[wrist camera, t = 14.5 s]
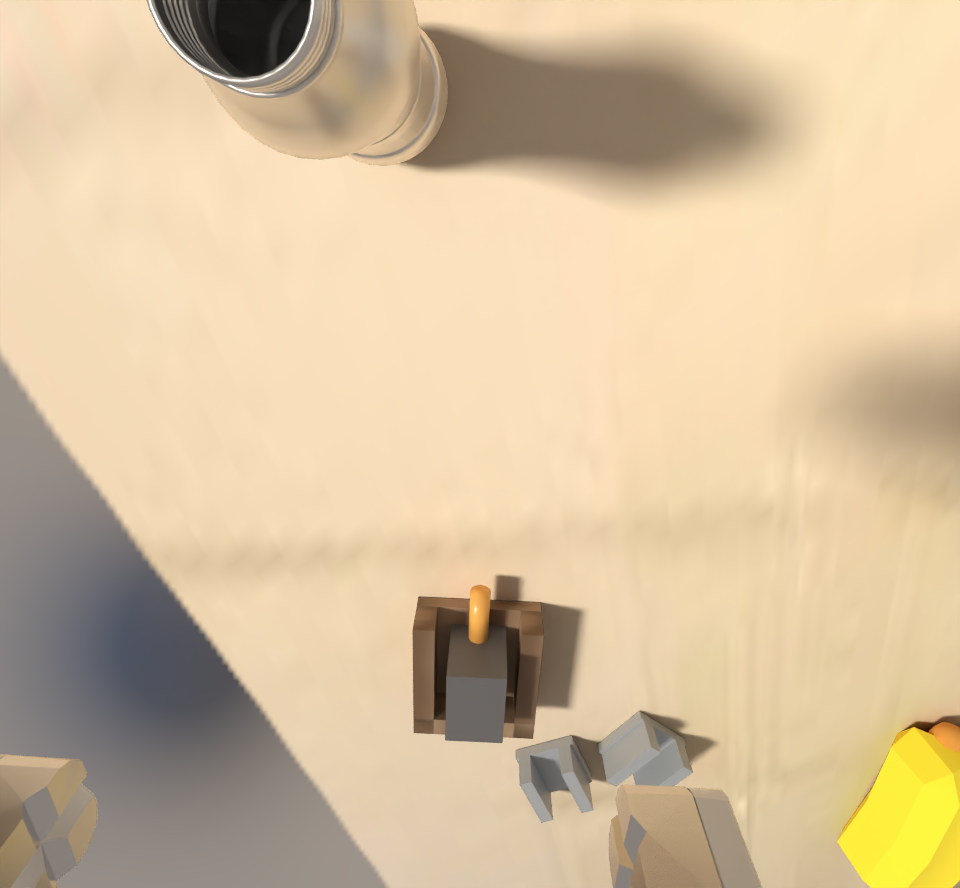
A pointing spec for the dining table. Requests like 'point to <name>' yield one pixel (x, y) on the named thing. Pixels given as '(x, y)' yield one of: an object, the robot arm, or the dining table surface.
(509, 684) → the holder
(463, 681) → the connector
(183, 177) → the dining table surface
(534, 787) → the clip
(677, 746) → the clip
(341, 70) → the open metal bottle
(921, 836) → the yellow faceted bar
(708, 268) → the dining table surface
